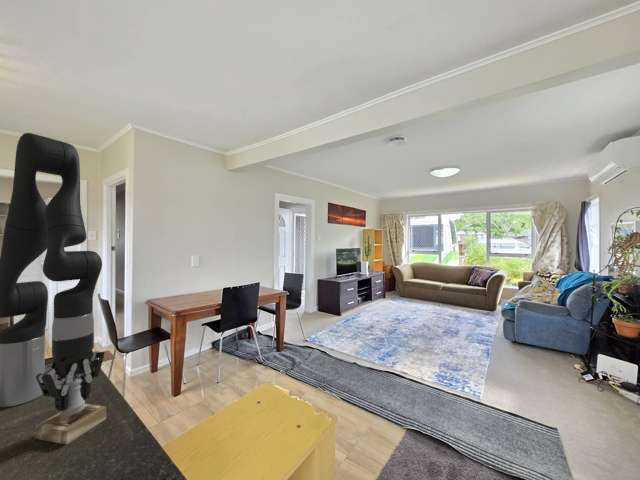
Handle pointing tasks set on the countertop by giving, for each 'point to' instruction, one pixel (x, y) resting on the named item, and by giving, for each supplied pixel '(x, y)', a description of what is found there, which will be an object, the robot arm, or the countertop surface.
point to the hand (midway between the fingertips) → (73, 403)
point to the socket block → (64, 433)
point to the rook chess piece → (74, 398)
